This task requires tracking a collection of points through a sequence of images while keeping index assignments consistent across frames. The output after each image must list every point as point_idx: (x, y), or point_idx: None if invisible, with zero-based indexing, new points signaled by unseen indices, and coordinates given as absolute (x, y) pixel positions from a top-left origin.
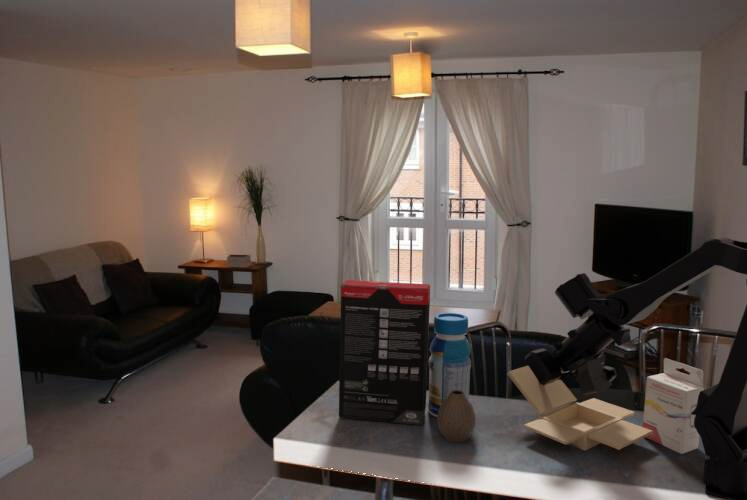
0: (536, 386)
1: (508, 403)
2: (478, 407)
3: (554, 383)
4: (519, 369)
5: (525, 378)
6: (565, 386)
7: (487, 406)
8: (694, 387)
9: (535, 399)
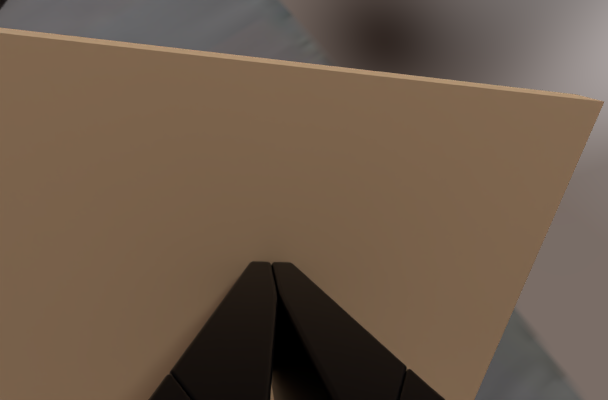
0: (172, 304)
1: None
2: (108, 12)
3: (407, 328)
4: (99, 66)
5: (98, 198)
6: (479, 368)
7: (156, 34)
8: None
9: (40, 393)
